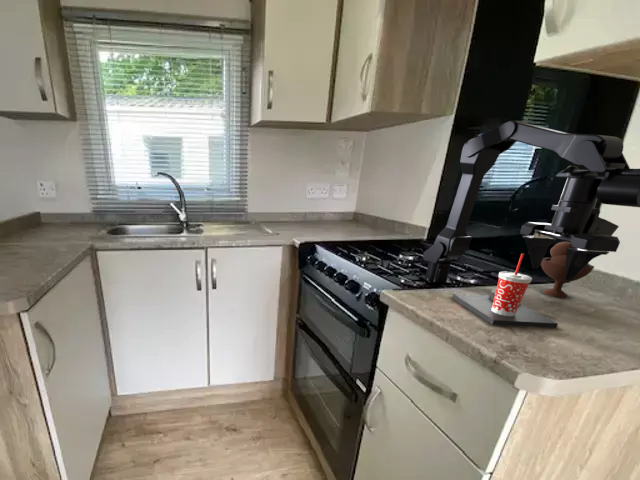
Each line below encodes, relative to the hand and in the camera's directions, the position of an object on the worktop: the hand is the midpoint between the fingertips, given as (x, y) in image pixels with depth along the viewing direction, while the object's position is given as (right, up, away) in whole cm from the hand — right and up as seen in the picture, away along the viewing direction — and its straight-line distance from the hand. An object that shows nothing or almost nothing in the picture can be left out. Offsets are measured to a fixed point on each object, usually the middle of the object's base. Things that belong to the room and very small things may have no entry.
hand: (550, 274), depth 79 cm
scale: (-6, -9, +7) cm, 13 cm away
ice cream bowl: (+20, -4, +22) cm, 30 cm away
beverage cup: (-8, -9, +4) cm, 12 cm away
